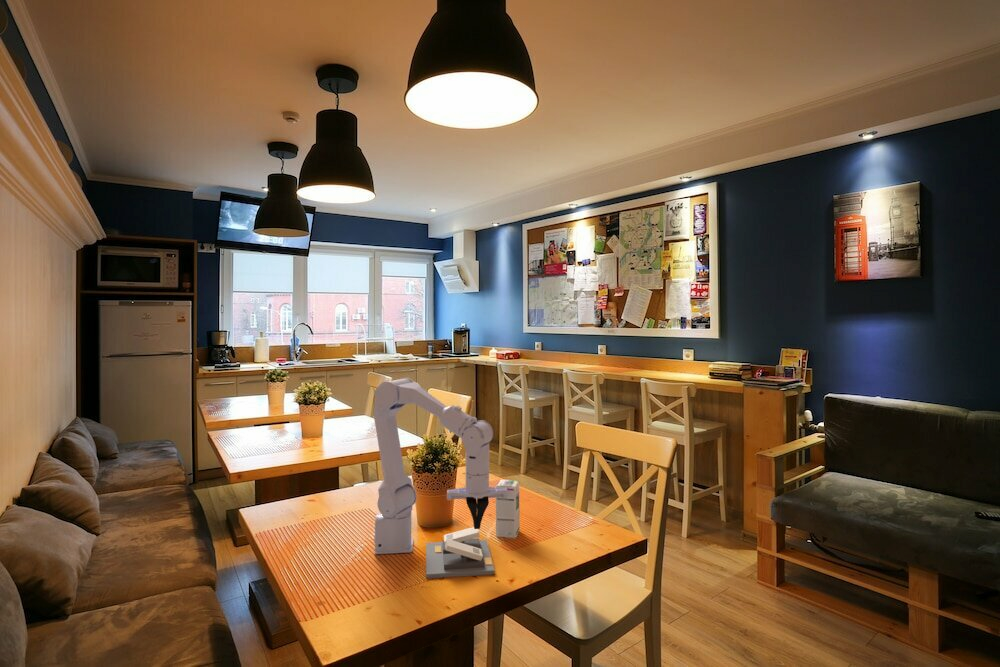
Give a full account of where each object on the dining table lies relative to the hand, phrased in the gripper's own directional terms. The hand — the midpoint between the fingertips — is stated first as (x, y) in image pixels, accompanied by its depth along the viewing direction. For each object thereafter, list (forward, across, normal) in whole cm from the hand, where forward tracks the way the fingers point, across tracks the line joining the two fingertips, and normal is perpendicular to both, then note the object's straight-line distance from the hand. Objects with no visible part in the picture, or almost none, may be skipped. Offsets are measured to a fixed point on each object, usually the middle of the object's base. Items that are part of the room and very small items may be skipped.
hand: (476, 527), depth 128 cm
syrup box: (+10, +10, +17) cm, 22 cm away
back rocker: (+5, -3, +7) cm, 9 cm away
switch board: (+9, -4, +3) cm, 11 cm away
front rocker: (+5, -3, -1) cm, 6 cm away
